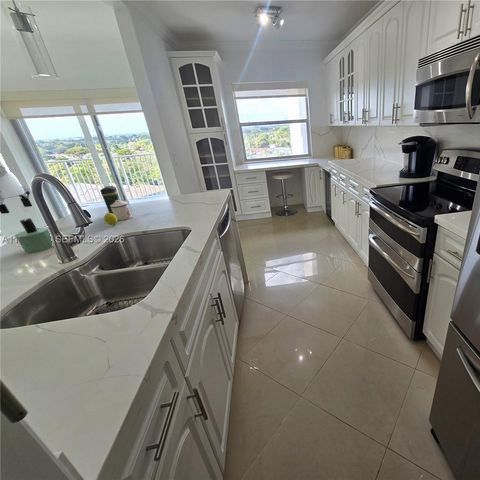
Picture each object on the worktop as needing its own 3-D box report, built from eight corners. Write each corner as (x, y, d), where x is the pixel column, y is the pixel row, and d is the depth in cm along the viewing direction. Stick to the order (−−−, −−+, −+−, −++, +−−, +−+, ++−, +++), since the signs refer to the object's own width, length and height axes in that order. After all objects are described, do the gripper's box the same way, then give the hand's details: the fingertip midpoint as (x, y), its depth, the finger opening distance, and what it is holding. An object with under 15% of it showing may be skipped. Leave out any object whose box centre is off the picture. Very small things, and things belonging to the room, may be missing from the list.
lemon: (110, 224, 151) (104, 212, 147) (120, 223, 152) (115, 210, 149) (106, 228, 146) (100, 215, 143) (117, 226, 147) (111, 213, 144)
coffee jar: (124, 215, 166) (113, 187, 158) (109, 218, 163) (97, 189, 155) (126, 211, 174) (116, 184, 166) (112, 213, 171) (101, 186, 163)
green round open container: (21, 256, 118) (11, 239, 114) (31, 247, 127) (21, 231, 123) (53, 249, 123) (44, 233, 119) (60, 241, 132) (51, 226, 128)
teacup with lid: (133, 218, 160) (126, 200, 155) (115, 221, 155) (107, 203, 150) (132, 213, 169) (125, 196, 164) (115, 216, 164) (108, 199, 159)
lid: (11, 241, 114) (1, 226, 111) (22, 232, 124) (13, 219, 120) (45, 234, 119) (37, 220, 116) (53, 227, 129) (46, 213, 125)
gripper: (9, 168, 117) (29, 204, 124) (-39, 175, 101) (-14, 216, 108) (26, 167, 117) (44, 204, 124) (-20, 174, 101) (4, 215, 108)
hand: (17, 209), depth 116 cm, fingers open, 9 cm apart
